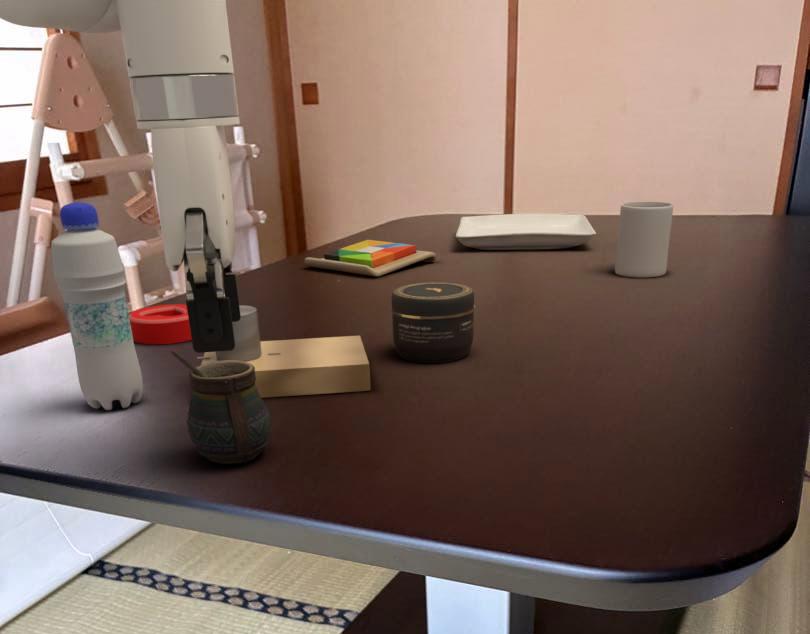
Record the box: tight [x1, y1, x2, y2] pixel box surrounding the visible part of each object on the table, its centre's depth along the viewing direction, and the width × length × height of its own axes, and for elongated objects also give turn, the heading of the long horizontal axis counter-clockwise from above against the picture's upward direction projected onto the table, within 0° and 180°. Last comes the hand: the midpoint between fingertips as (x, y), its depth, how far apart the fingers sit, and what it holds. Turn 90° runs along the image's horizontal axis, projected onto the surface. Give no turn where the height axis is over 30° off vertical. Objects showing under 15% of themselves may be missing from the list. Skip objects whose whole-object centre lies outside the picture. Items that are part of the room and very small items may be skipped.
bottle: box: [50, 201, 144, 411], centre depth 84 cm, size 7×7×20 cm
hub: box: [216, 305, 262, 361], centre depth 92 cm, size 5×5×5 cm
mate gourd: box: [170, 350, 271, 465], centre depth 73 cm, size 7×8×10 cm
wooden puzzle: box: [304, 239, 437, 278], centre depth 155 cm, size 18×19×4 cm
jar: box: [390, 281, 476, 364], centre depth 101 cm, size 10×10×8 cm
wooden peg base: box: [196, 335, 371, 399], centre depth 94 cm, size 19×12×3 cm, turn 97°
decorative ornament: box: [129, 303, 192, 345], centre depth 114 cm, size 10×10×3 cm
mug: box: [614, 201, 674, 279], centre depth 142 cm, size 12×8×11 cm
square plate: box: [455, 213, 597, 251], centre depth 175 cm, size 27×27×4 cm
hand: (219, 335), depth 70 cm, fingers open, 9 cm apart
